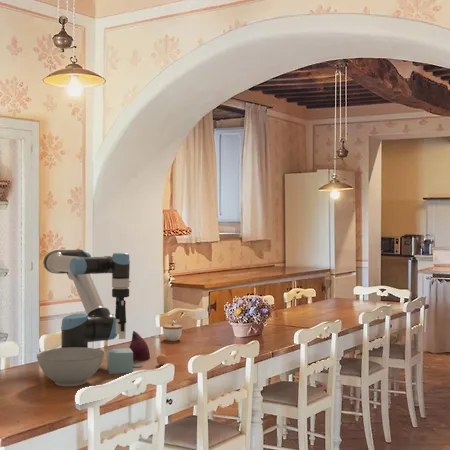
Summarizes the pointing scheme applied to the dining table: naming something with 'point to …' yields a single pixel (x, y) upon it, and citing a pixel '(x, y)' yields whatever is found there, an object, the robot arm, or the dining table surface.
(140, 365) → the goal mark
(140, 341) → the vegetable
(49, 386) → the dining table surface
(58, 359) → the decorative bowl
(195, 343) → the dining table surface
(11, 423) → the dining table surface
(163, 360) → the ball
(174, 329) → the lidded jar
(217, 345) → the dining table surface
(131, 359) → the rounded blue-grey cube
